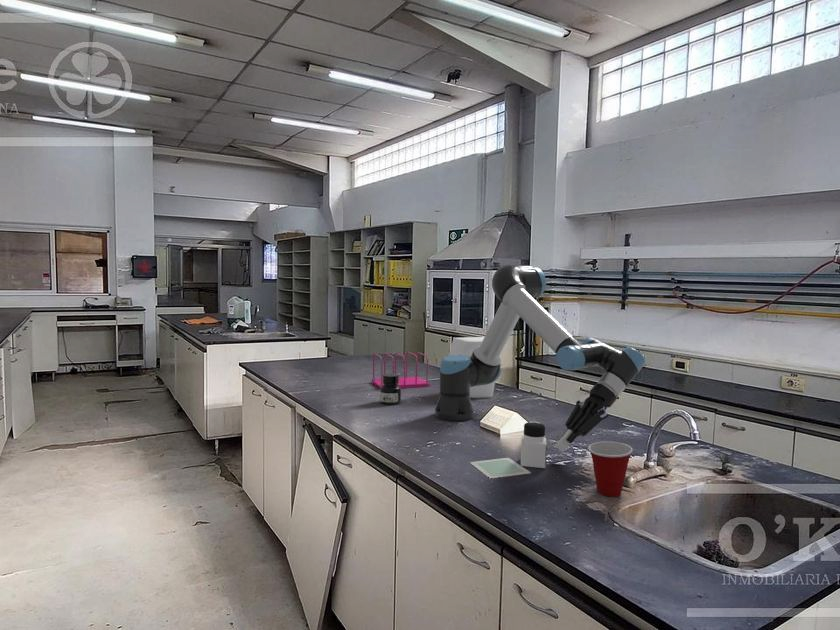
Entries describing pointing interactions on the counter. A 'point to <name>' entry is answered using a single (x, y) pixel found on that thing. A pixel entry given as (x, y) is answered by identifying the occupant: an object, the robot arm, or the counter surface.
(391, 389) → the ink bottle
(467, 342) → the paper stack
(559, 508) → the counter surface
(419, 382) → the file sorter
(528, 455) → the medicine bottle
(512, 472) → the pad
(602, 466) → the plastic cup
